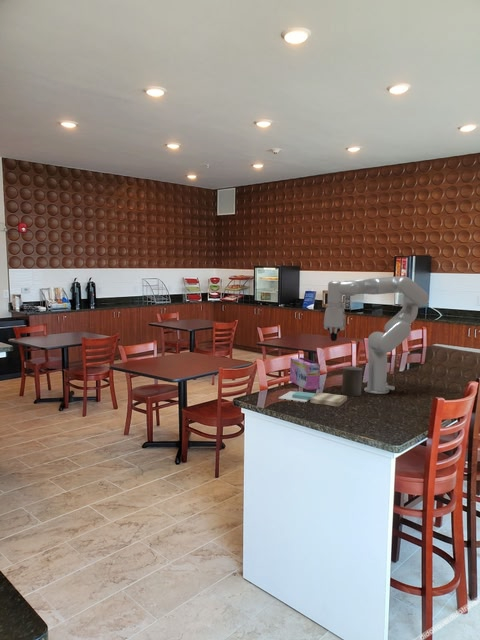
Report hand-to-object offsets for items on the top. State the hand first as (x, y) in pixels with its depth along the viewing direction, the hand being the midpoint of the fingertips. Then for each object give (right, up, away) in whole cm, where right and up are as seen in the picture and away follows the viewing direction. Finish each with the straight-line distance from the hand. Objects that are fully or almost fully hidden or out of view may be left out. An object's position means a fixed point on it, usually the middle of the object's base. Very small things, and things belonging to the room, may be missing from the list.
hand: (333, 340), depth 251 cm
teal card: (-17, -28, -11) cm, 34 cm away
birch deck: (-5, -29, -16) cm, 33 cm away
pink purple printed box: (-13, -26, +19) cm, 34 cm away
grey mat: (-20, -28, -9) cm, 35 cm away
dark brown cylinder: (+9, -28, -1) cm, 29 cm away
